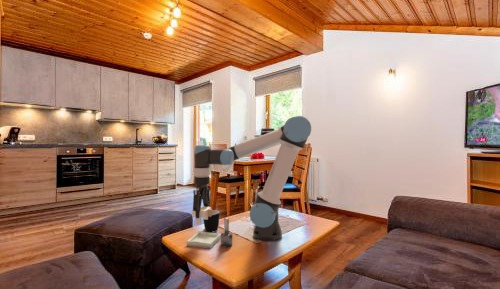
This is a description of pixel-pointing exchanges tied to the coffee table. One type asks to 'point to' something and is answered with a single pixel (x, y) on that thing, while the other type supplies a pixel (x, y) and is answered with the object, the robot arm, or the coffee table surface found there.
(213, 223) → the mug
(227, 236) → the peg stand
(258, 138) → the robot arm
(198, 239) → the tray
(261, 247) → the coffee table surface
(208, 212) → the white hollow block
